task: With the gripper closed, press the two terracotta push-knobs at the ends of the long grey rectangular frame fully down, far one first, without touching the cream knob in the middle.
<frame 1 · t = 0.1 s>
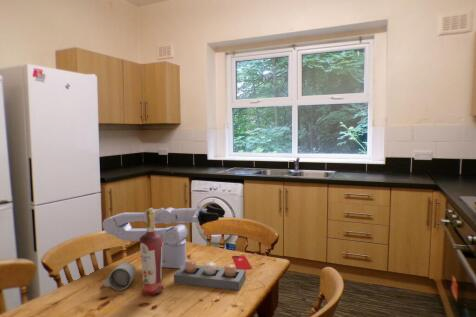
hand: (221, 214, 128), 22 cm above the table, tool horizontal, fingers open, 7 cm apart
liquor: (152, 292, 111), on the table
middle knob: (210, 268, 119), point 5 cm above the table, slide at 0.0 cm
ceramic mug: (119, 286, 116), on the table
inner knob: (190, 266, 121), point 5 cm above the table, slide at 0.0 cm
grey rectangular frame: (210, 280, 119), on the table
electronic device: (241, 263, 136), on the table
outer knob: (230, 270, 117), point 5 cm above the table, slide at 0.0 cm
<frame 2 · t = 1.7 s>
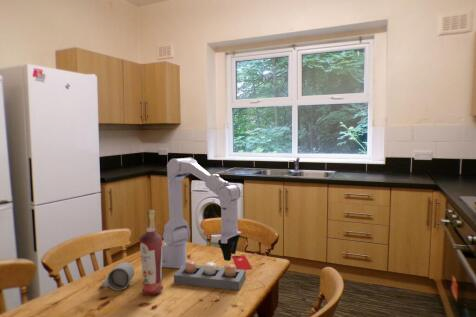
hand: (229, 256, 117), 9 cm above the table, tool pointing down, fingers open, 6 cm apart
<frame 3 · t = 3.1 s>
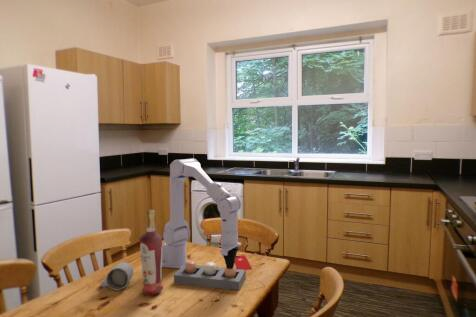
hand: (230, 268, 117), 5 cm above the table, tool pointing down, fingers closed, pressing on outer knob
outer knob: (230, 272, 117), point 4 cm above the table, slide at 0.6 cm, touching gripper
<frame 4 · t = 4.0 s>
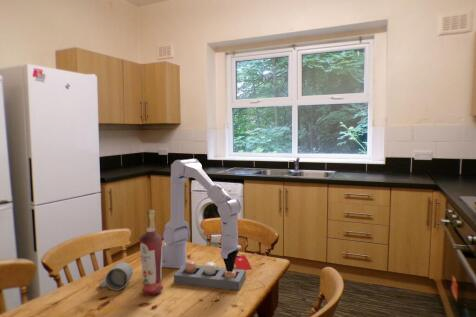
hand: (230, 270, 117), 4 cm above the table, tool pointing down, fingers closed
outer knob: (230, 276, 117), point 2 cm above the table, slide at 2.2 cm
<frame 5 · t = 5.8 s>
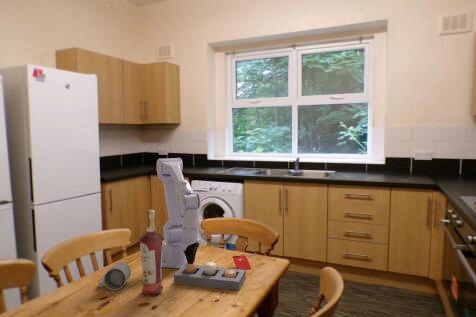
hand: (190, 263, 121), 6 cm above the table, tool pointing down, fingers closed, pressing on inner knob
inner knob: (190, 267, 121), point 4 cm above the table, slide at 0.2 cm, touching gripper
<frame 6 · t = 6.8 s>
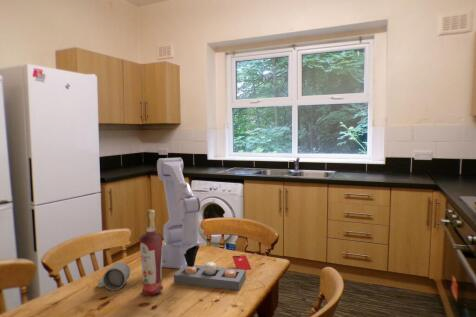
hand: (190, 266, 121), 5 cm above the table, tool pointing down, fingers closed
inner knob: (190, 272, 121), point 2 cm above the table, slide at 2.2 cm
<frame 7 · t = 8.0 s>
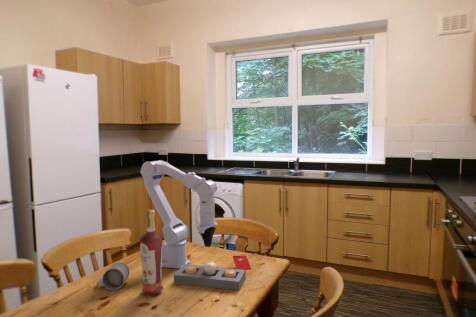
hand: (207, 246, 128), 9 cm above the table, tool pointing down, fingers closed
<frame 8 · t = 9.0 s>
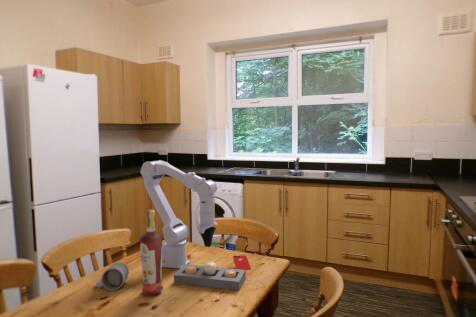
hand: (207, 246, 128), 9 cm above the table, tool pointing down, fingers closed
at the end: outer knob slide at 2.2 cm; inner knob slide at 2.2 cm; middle knob slide at 0.0 cm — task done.
